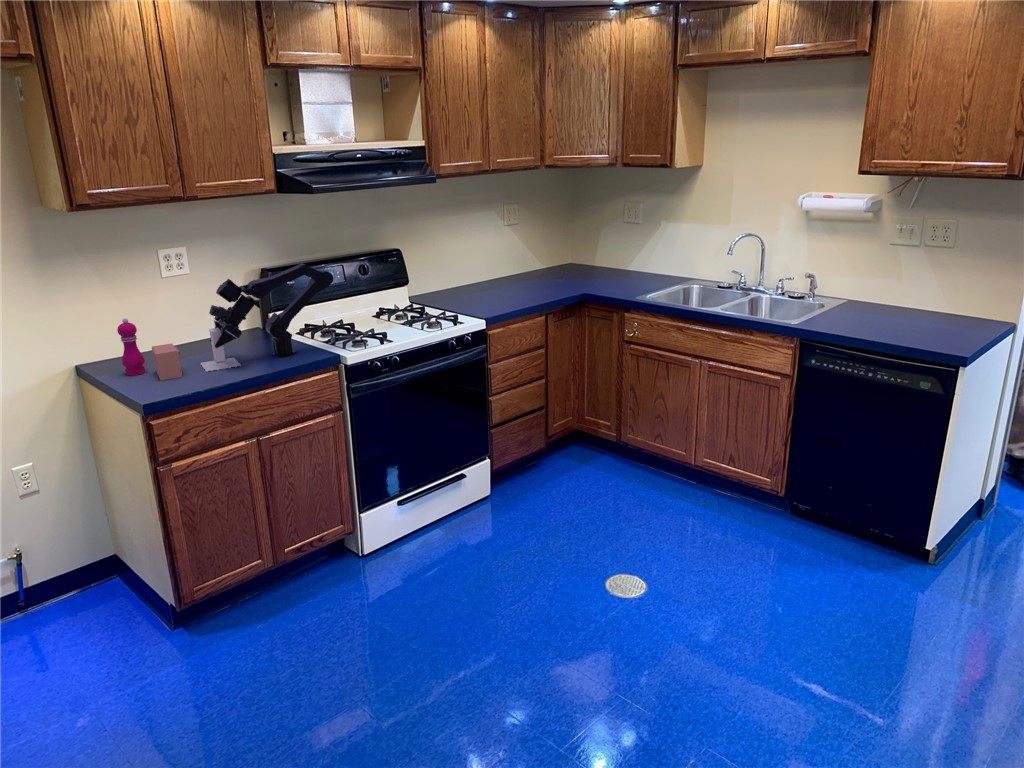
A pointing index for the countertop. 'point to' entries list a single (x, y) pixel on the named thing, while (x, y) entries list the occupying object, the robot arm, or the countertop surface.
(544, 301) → the countertop surface
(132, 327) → the pepper mill
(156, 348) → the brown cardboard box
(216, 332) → the white rectangular block
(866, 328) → the countertop surface
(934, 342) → the countertop surface
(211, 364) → the mat
